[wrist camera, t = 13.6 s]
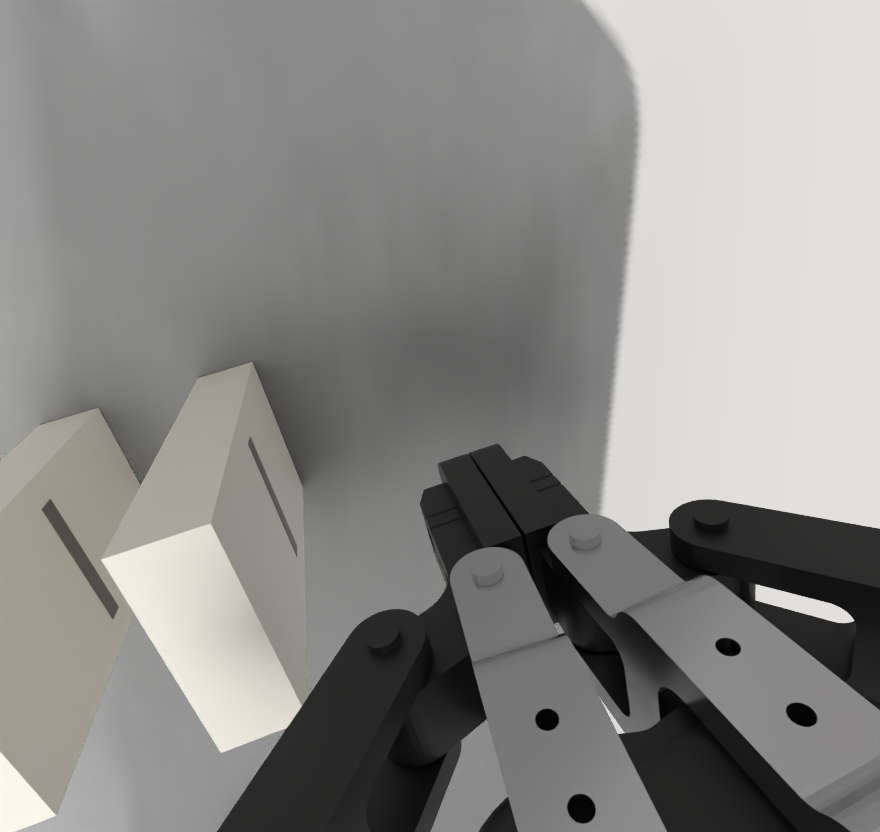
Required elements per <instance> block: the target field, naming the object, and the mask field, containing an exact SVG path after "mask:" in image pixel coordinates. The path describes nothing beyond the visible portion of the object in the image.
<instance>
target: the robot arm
mask: <svg viewBox="0 0 880 832" xmlns="http://www.w3.org/2000/svg"><path fill="white" fill-rule="evenodd" d="M438 468H439V473H440V476H441V480H442V484H440V485H437V486H434V487H431V488H428V489H425V490H424V491H423V495H422V498H421V502H420V506H421V509H422V513H423V516H424V520H425V523H426V526H427V530H428V533H429V537H430V540H431V543H432V547H433V550H434V553H435V556H436V559H437V562H438V564H439V567H440V569H441V572H442V575H443V577H444V580H445V582H446V585H447V586H446V589H445V591H444V593H443V595H442V596H441V597H440V599H439V600H438V601H437V602H436V603H435V604H434V605H433V606H432V607H430V608H429V609H428V610H426V611H425V612H423V613H422V614H420V615H419V616H417V615H416V614H414V613H412V612H410V611H407V610H401V609H392V610H386V611H382V612H379V613H377V614H374V615H372V616H370V617H369V618H367V619H365V620H364V621H363V622H361V623H360V624H359V625H358V626H357V627H356V628H355V629H354V630H353V632H352V633H351V634H350V636H349V637H348V639H347V640H346V642H345V643H344V645H343V646H342V647H341V649H340V650H339V652H338V653H337V655H336V656H335V658H334V659H333V661H332V662H331V664H330V665H329V667H328V668H327V670H326V671H325V673H324V674H323V676H322V677H321V679H320V680H319V682H318V683H317V684H316V686H315V687H314V689H313V690H312V692H311V693H310V695H309V696H308V698H307V699H306V701H305V702H304V704H303V705H302V707H301V708H300V710H299V711H298V713H297V714H296V716H295V717H294V719H293V720H292V721H291V723H290V724H289V726H288V727H287V729H286V730H285V732H284V733H283V735H282V736H281V738H280V739H279V741H278V742H277V744H276V745H275V747H274V748H273V750H272V751H271V753H270V754H269V756H268V757H267V759H266V760H265V761H264V763H263V764H262V766H261V767H260V769H259V770H258V772H257V773H256V775H255V776H254V778H253V779H252V781H251V782H250V784H249V785H248V787H247V788H246V790H245V791H244V793H243V794H242V796H241V797H240V798H239V800H238V801H237V803H236V804H235V806H234V807H233V809H232V810H231V812H230V813H229V815H228V816H227V818H226V819H225V821H224V822H223V824H222V825H221V827H220V828H219V830H218V831H217V832H430V831H431V828H432V826H433V823H434V821H435V818H436V816H437V813H438V810H439V808H440V805H441V803H442V800H443V798H444V795H445V792H446V790H447V787H448V785H449V782H450V780H451V777H452V774H453V772H454V769H455V767H456V764H457V762H458V759H459V756H460V753H461V740H462V739H463V738H464V737H466V736H467V735H468V734H469V733H470V732H472V731H473V730H474V729H475V728H476V727H478V726H479V725H480V724H481V723H483V722H484V721H485V720H486V719H487V721H488V724H489V728H490V732H491V735H492V739H493V743H494V746H495V750H496V754H497V757H498V761H499V765H500V768H501V772H502V776H503V779H504V783H505V787H506V790H507V794H508V797H507V798H506V799H505V800H504V801H503V802H502V803H501V804H500V805H499V806H498V807H497V808H496V809H495V810H494V811H493V812H492V814H491V815H490V816H489V818H488V819H487V820H486V822H485V823H484V824H483V826H482V827H481V829H480V830H479V832H880V529H877V528H872V527H866V526H860V525H855V524H849V523H844V522H838V521H832V520H827V519H821V518H815V517H810V516H804V515H799V514H793V513H787V512H782V511H776V510H770V509H765V508H759V507H754V506H748V505H743V504H737V503H731V502H725V501H719V500H696V501H692V502H688V503H685V504H683V505H681V506H679V507H678V508H676V509H675V510H674V511H673V512H672V513H671V515H670V518H669V528H666V529H658V530H649V531H641V532H640V531H639V532H627V531H625V530H624V529H623V528H622V527H621V526H620V525H618V524H617V523H616V522H614V521H613V520H611V519H609V518H607V517H604V516H599V515H592V514H589V513H588V512H587V511H586V510H585V509H584V508H583V507H582V506H581V504H580V503H579V502H578V501H577V500H576V499H575V498H574V497H573V496H572V495H571V494H570V492H569V491H568V490H567V489H566V488H565V487H564V486H563V485H561V483H560V482H559V481H558V479H557V478H556V477H555V476H553V475H552V473H551V472H550V471H549V470H548V469H547V468H546V466H545V465H544V464H543V463H542V462H539V461H537V460H534V459H532V458H529V457H527V456H523V457H520V458H517V459H514V460H511V459H510V457H509V456H508V455H507V454H506V453H505V451H504V450H503V449H502V448H501V446H500V445H499V444H495V445H491V446H488V447H485V448H482V449H479V450H476V451H473V452H470V453H469V454H465V455H461V456H458V457H455V458H452V459H449V460H446V461H443V462H440V463H438ZM755 584H758V585H762V586H766V587H769V588H773V589H777V590H781V591H786V592H789V593H793V594H797V595H801V596H805V597H808V598H813V599H816V600H820V601H824V602H828V603H832V604H834V605H836V606H839V607H841V608H842V609H844V610H845V611H847V612H848V613H849V614H850V615H851V616H852V617H853V619H854V622H851V623H836V622H832V621H828V620H824V619H821V618H817V617H813V616H810V615H806V614H802V613H799V612H795V611H791V610H788V609H784V608H781V607H776V606H773V605H769V604H765V603H762V602H759V601H755ZM558 622H559V624H560V626H561V627H562V629H563V630H564V633H563V634H560V635H559V633H558V631H557V629H556V627H555V625H554V624H555V623H558ZM599 697H600V698H601V700H602V701H603V703H604V704H605V705H606V707H607V708H608V710H609V711H610V712H611V714H612V715H613V717H614V718H615V719H616V721H617V722H618V724H619V725H620V726H621V728H622V729H623V731H624V732H625V733H623V734H617V732H616V730H615V727H614V726H613V723H612V721H611V719H610V717H609V716H608V713H607V712H606V710H605V708H604V706H603V704H602V702H601V700H600V698H599Z"/></svg>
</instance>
